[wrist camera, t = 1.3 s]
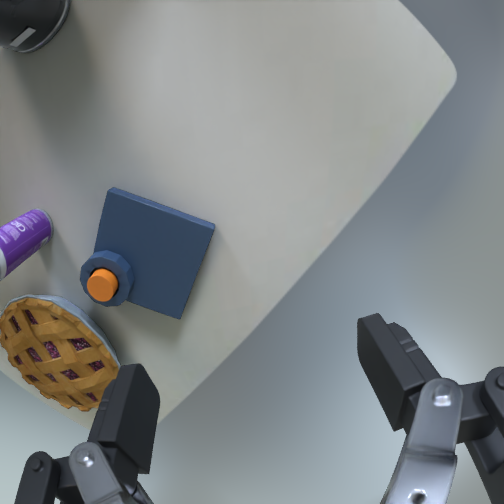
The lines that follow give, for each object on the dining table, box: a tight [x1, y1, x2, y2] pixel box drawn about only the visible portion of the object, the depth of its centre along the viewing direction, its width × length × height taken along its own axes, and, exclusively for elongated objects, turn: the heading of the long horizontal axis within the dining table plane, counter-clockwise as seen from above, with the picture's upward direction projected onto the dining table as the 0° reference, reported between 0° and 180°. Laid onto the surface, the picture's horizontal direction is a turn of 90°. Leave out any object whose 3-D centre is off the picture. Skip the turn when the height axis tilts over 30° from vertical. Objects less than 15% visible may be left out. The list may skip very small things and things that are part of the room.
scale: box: [80, 187, 215, 319], centre depth 31 cm, size 12×12×4 cm
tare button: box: [87, 268, 118, 302], centre depth 29 cm, size 3×3×2 cm
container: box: [0, 209, 53, 281], centre depth 23 cm, size 5×5×15 cm
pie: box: [0, 294, 121, 411], centre depth 35 cm, size 22×22×5 cm
